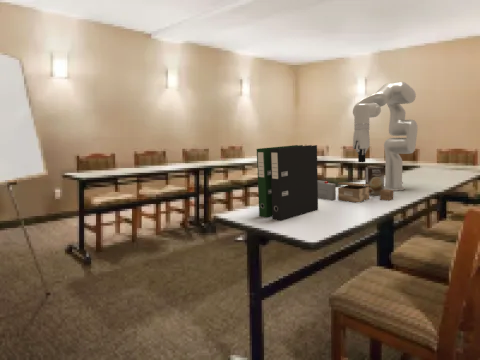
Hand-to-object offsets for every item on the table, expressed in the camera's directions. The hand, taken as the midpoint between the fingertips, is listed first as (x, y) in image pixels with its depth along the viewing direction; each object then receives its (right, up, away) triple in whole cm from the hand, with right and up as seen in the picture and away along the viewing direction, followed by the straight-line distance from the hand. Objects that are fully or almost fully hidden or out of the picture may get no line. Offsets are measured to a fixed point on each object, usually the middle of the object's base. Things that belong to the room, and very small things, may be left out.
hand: (361, 162), depth 190 cm
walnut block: (+14, -20, +2) cm, 25 cm away
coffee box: (+13, -18, +16) cm, 28 cm away
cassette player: (-17, -20, +13) cm, 30 cm away
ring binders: (-41, -26, -18) cm, 52 cm away
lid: (-3, -12, +4) cm, 13 cm away
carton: (-3, -20, +5) cm, 21 cm away
